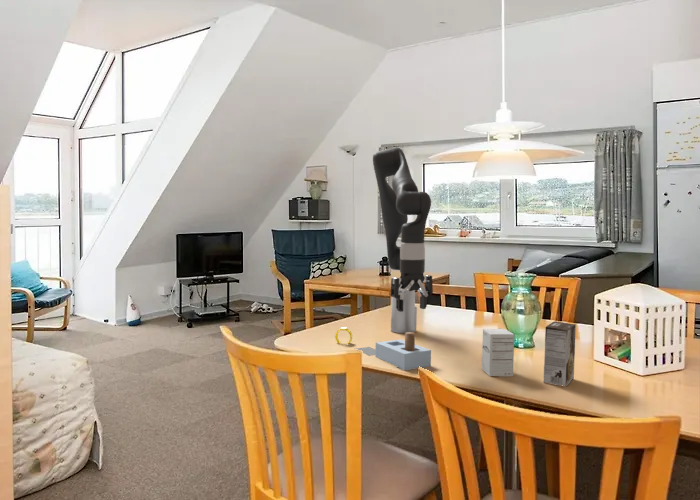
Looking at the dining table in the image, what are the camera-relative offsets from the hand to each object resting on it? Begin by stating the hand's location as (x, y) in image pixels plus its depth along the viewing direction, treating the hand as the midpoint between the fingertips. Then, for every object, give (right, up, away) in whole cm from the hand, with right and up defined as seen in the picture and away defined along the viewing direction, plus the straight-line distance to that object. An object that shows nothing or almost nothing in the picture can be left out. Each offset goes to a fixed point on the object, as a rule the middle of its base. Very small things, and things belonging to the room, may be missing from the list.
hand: (411, 310), depth 175 cm
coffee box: (+40, -19, -13) cm, 46 cm away
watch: (-21, -15, +27) cm, 38 cm away
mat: (-12, -16, +16) cm, 26 cm away
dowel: (-1, -17, +1) cm, 17 cm away
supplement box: (+25, -18, -6) cm, 31 cm away
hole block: (-2, -17, +5) cm, 18 cm away
